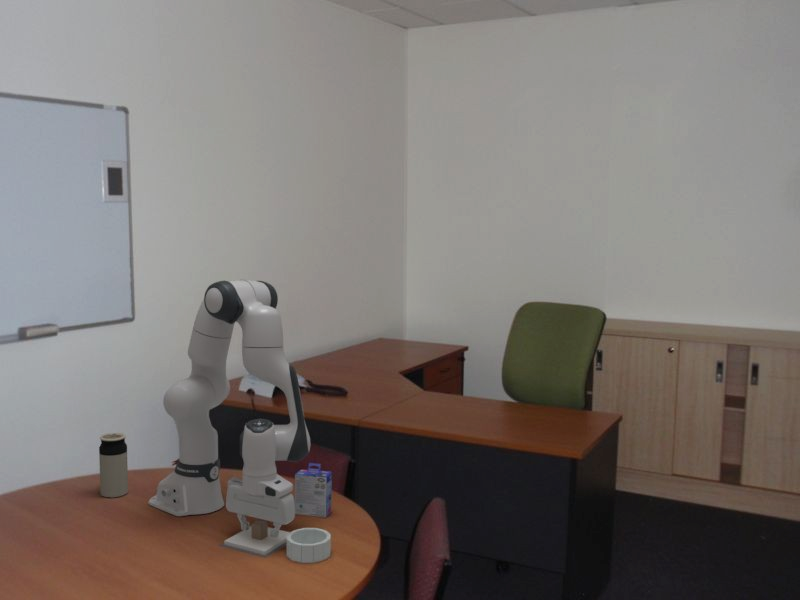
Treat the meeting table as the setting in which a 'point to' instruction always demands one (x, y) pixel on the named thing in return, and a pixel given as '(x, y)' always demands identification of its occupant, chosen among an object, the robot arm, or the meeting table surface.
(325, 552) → the bowl
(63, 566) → the meeting table surface
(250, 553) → the mat
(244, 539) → the lid
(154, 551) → the meeting table surface
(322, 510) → the ink cartridge box
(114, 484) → the travel mug
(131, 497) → the meeting table surface
